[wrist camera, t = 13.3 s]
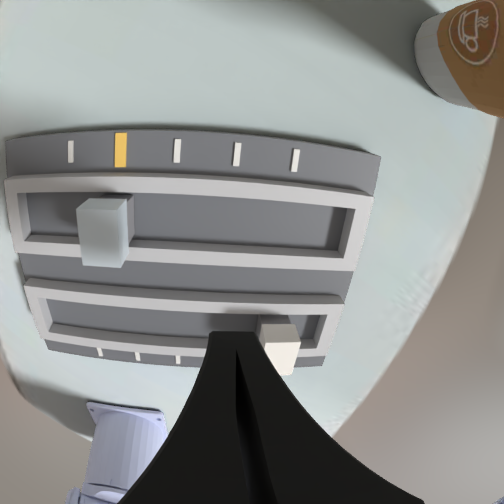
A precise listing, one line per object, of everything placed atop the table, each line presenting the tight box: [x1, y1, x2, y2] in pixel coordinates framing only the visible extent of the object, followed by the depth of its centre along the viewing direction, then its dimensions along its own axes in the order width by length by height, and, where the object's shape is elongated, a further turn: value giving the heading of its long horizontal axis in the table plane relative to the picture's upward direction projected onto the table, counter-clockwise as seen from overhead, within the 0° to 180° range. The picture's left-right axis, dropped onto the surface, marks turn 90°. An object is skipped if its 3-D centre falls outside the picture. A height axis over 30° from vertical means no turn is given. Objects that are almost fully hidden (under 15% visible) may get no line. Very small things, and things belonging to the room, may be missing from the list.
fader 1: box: [76, 195, 135, 268], centre depth 14 cm, size 3×2×3 cm
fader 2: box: [256, 314, 301, 375], centre depth 18 cm, size 3×2×3 cm
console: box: [4, 129, 381, 367], centre depth 17 cm, size 16×22×2 cm
